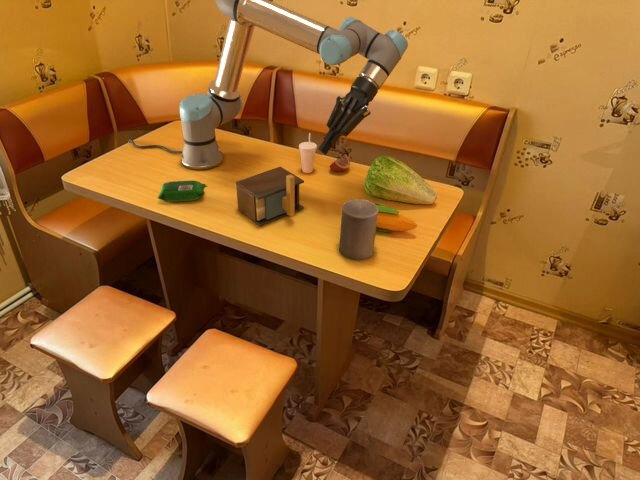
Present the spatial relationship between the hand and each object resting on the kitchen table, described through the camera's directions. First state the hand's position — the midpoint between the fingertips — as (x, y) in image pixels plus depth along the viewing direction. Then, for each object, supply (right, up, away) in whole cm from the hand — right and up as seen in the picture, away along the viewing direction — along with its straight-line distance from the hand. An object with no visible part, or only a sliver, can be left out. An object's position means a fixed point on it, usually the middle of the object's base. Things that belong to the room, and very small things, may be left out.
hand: (321, 151), depth 146 cm
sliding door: (-12, -19, +5) cm, 23 cm away
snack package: (-45, -11, +18) cm, 50 cm away
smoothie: (-2, +1, +33) cm, 33 cm away
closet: (-15, -16, +12) cm, 25 cm away
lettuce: (+27, -12, +15) cm, 33 cm away
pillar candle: (+9, -29, -7) cm, 32 cm away
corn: (+18, -23, +2) cm, 29 cm away
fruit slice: (+9, +1, +32) cm, 34 cm away
